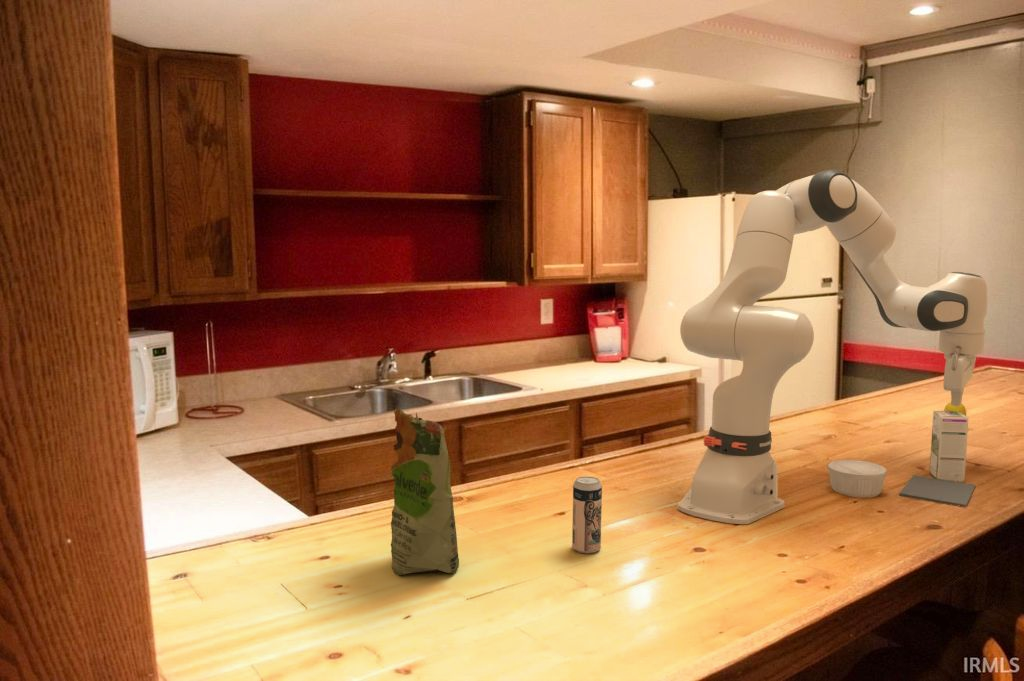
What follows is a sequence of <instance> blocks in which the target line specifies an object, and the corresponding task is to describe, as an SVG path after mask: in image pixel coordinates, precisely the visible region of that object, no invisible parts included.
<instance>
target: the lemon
mask: <svg viewBox="0 0 1024 681" xmlns="http://www.w3.org/2000/svg"><path fill="white" fill-rule="evenodd" d="M943 411H956V412H960V413H962V414H964V415H965V416H967V409H966V406H965V405H964V404H963V402H962V403H961V404H960V405H959V406H953V405H951V401H950V402H948V403H947V404H946V405H945V407H944V409H943Z"/></svg>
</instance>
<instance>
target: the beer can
mask: <svg viewBox="0 0 1024 681" xmlns="http://www.w3.org/2000/svg"><path fill="white" fill-rule="evenodd" d="M572 488H573V489H572V531H571V533H572V534H571V547H572V549H573V550H574V551H576V552H577V553H580V554H586V555H587V554H590V555H591V554H594V553H596V552H598V551H599V550H601V547H602V546H601V545H602V538H601V537H602V508H603V507H602V506H603V504H602V503H603V502H602V501H603V499H602V498H603V486H602V484H601V481H600V479H599V477H594V476H585V475H584V476H579V477H576V478H575V481H574V482H573V483H572Z"/></svg>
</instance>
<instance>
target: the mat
mask: <svg viewBox="0 0 1024 681" xmlns="http://www.w3.org/2000/svg"><path fill="white" fill-rule="evenodd" d="M974 488H975V489H976V484H971V483H966V482H965V483H964V482H954V481H948V480H942V479H936V478H935V477H929V476H923V475H917V474H912V475H911V477H910V478H909V480H908V481H907V482H906V483H905V484H904V486H903V487H902V489H901V490H900V491H899V494H898V496H900V497H905V498H910V499H916V500H923V501H927V502H933V503H938V502H939V503H940V504H944V503H946V504H945V505H950V504H952V505H951V506H955V505H960V506H959V507H961V506H967V507H968V504H969V502H970V500H971V498H972V496H973V493H974V491H975V489H974ZM971 495H972V496H971ZM970 497H971V498H970ZM969 499H970V500H969ZM939 503H938V504H939Z"/></svg>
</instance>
